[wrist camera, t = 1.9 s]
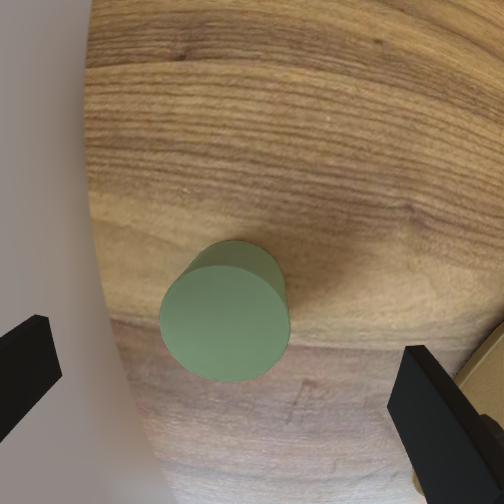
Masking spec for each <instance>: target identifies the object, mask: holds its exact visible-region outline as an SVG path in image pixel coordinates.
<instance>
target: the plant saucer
mask: <svg viewBox="0 0 504 504" xmlns="http://www.w3.org/2000/svg"><path fill="white" fill-rule="evenodd" d="M453 381H454V382H455V384H456V385H457V386H458V387H459V389H460V390H461V391H462V392H463V394H464V395H465V396H466V398H467V399H468V400H469V402H470V403H471V404H472V405H473V407H474V408H475V409H476V411H477V412H478V413H479V415H481V414H487V415H488V416H490V417H491V418H492V419H494V420H495V421H497V422H498V423H499V425H500V426H501V427H502V429H503V430H504V321H503V322H502V323H501V324H500V325H499V326H498V327H497V328H496V329H495V330H494V331H493V332H492V333H491V335H490V336H489V337H488V338H487V339H486V340H485V341H484V342H483V343H482V345H481V346H480V347H479V348H478V349H477V350H476V352H475V353H474V354H473V355H472V356H471V358H470V359H469V360H468V361H467V363H466V364H465V365H464V366H463V368H462V369H461V370H460V372H459V373H458V374H457V376H456V377H455V379H454V380H453ZM412 483H413V486H414V488H415V489H416V490H417V492H418V493H420V494H421V495H423V496H424V493H423V491H422V488H421V486H420V483H419V481H418V478H417V476H416V473H415V471H414V468H413V467H412Z"/></svg>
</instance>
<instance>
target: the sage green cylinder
mask: <svg viewBox="0 0 504 504" xmlns="http://www.w3.org/2000/svg"><path fill="white" fill-rule="evenodd" d="M159 323H160V330H161V334H162V337H163V340H164V342H165V344H166V346H167V348H168V349H169V351H170V352H171V354H172V355H173V356H174V358H175V359H176V360H177V361H178V362H179V363H180V364H182V365H183V366H184V367H185V368H187V369H188V370H190V371H191V372H193V373H195V374H197V375H199V376H201V377H204V378H207V379H210V380H214V381H220V382H239V381H245V380H249V379H252V378H255V377H257V376H259V375H261V374H263V373H264V372H266V371H268V370H269V369H270V368H271V367H273V366H274V365H275V364H276V363H277V361H278V360H279V359H280V358H281V356H282V355H283V353H284V351H285V349H286V347H287V344H288V341H289V337H290V318H289V310H288V303H287V296H286V288H285V281H284V277H283V274H282V271H281V269H280V267H279V265H278V264H277V262H276V261H275V260H274V258H273V257H272V256H271V255H270V254H269V253H268V252H266V251H265V250H264V249H262V248H260V247H258V246H257V245H254V244H252V243H249V242H245V241H237V240H230V241H223V242H220V243H216V244H214V245H212V246H210V247H208V248H207V249H205V250H204V251H203V252H201V253H200V254H199V255H198V256H197V257H196V259H195V260H194V261H193V262H192V263H191V264H190V265H189V266H188V268H187V269H186V270H185V271H184V272H183V273H182V274H181V275H180V276H179V278H178V279H177V280H176V281H175V282H174V283H173V284H172V285H171V287H170V288H169V289H168V291H167V293H166V294H165V296H164V298H163V301H162V304H161V308H160V315H159Z"/></svg>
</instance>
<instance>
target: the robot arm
mask: <svg viewBox="0 0 504 504" xmlns="http://www.w3.org/2000/svg"><path fill="white" fill-rule="evenodd" d="M61 377H62V372H61V369H60V365H59V361H58V358H57V354H56V350H55V346H54V342H53V337H52V333H51V328H50V324H49V319H48V317H44V316H40V315H36V314H35V315H34V316H32V317H30V318H29V319H27V320H26V321H24V322H23V323H21V324H20V325H18V326H17V327H15V328H14V329H12V330H11V331H9V332H8V333H6V334H5V335H3V336H2V337H0V443H1V442H2V440H3V439H4V438H5V437H6V436H7V435H8V434H9V433H10V431H11V430H12V429H13V428H14V427H15V426H16V425H17V424H18V423H19V421H20V420H21V419H22V418H23V417H24V416H25V415H26V414H27V413H28V412H29V411H30V409H31V408H32V407H33V406H34V405H35V404H36V403H37V402H38V401H39V400H40V399H41V398H42V397H43V396H44V394H45V393H46V392H47V391H48V390H49V389H50V388H51V387H52V386H53V385H54V384H55V383H56V382H57V381H58V380H59V379H60V378H61ZM387 409H388V411H389V413H390V415H391V417H392V420H393V422H394V424H395V426H396V429H397V431H398V433H399V436H400V438H401V440H402V442H403V445H404V447H405V449H406V452H407V454H408V457H409V459H410V461H411V464H412V466H413V468H414V471H415V473H416V476H417V478H418V481H419V483H420V486H421V488H422V491H423V493H424V496H425V498H426V501H427V504H504V430H503V429H502V427H501V426H500V425H499V423H498V422H497V421H495V420H494V419H492V418H491V417H490V416H488V415H487V414H481V415H479V413H478V412H477V411H476V409H475V408H474V407H473V405H472V404H471V403H470V402H469V400H468V399H467V398H466V396H465V395H464V394H463V392H462V391H461V390H460V389H459V387H458V386H457V385H456V384H455V382H454V381H453V380H452V379H451V377H450V376H449V375H448V374H447V372H446V371H445V370H444V369H443V367H442V366H441V365H440V364H439V362H438V361H437V360H436V359H435V358H434V356H433V355H432V354H431V353H430V352H429V350H428V349H427V348H426V347H425V346H424V345H415V346H405V350H404V354H403V357H402V361H401V364H400V368H399V371H398V374H397V378H396V381H395V384H394V387H393V390H392V393H391V396H390V399H389V402H388V405H387Z"/></svg>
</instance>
